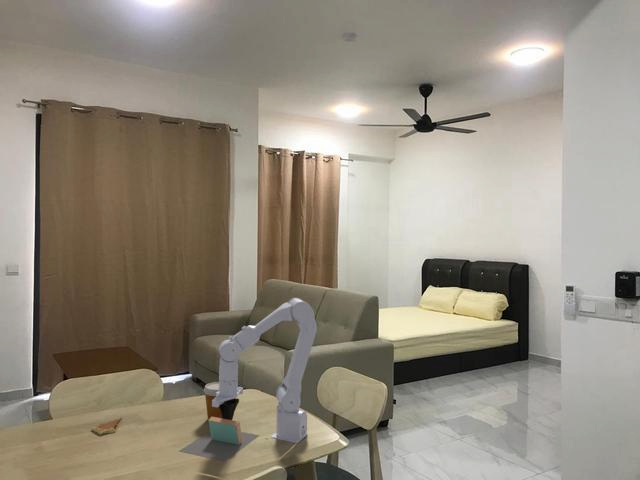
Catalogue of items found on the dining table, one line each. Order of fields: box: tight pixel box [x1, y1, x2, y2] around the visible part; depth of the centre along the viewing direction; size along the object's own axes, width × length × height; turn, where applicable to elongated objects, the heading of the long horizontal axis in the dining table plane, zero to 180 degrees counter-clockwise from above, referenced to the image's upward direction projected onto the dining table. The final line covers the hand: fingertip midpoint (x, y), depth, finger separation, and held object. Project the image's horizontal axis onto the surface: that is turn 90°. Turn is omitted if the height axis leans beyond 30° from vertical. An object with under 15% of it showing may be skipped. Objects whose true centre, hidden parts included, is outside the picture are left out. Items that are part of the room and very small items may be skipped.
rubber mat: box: [178, 431, 260, 462], centre depth 153 cm, size 16×20×1 cm
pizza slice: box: [91, 417, 123, 435], centre depth 164 cm, size 11×8×2 cm
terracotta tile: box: [208, 417, 242, 445], centre depth 154 cm, size 10×2×7 cm, turn 68°
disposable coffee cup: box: [203, 381, 223, 422], centre depth 173 cm, size 10×10×12 cm
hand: (227, 423), depth 155 cm, fingers closed
